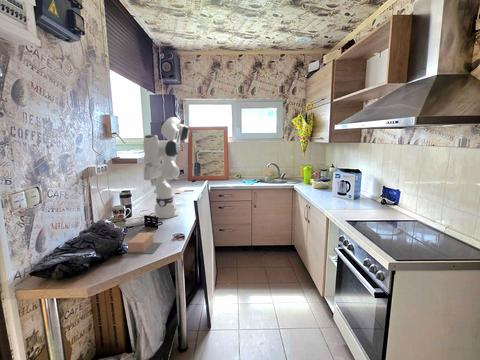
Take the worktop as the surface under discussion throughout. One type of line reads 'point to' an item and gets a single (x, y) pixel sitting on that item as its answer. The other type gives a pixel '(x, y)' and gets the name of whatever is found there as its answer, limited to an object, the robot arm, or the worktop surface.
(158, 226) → the worktop surface
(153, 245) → the mat
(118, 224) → the food container
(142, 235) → the terracotta block
